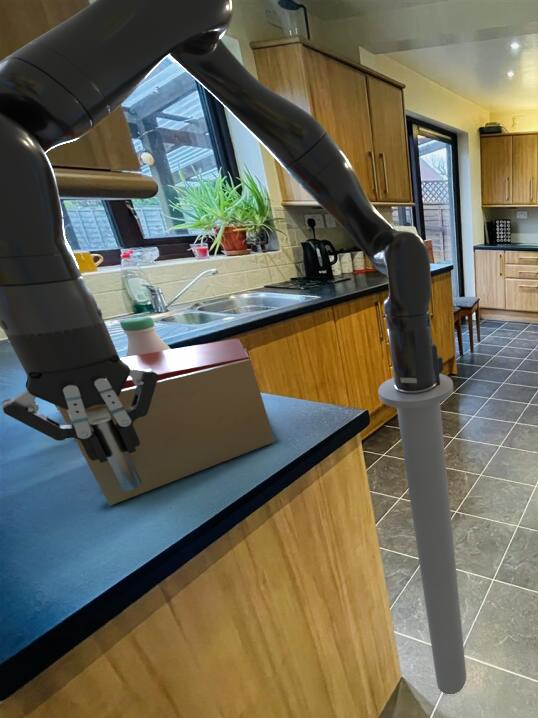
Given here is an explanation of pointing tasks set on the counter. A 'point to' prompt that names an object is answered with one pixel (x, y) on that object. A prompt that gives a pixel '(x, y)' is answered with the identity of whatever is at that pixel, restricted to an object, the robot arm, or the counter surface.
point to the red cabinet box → (186, 359)
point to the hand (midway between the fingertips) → (117, 454)
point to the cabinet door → (180, 429)
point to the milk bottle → (142, 336)
